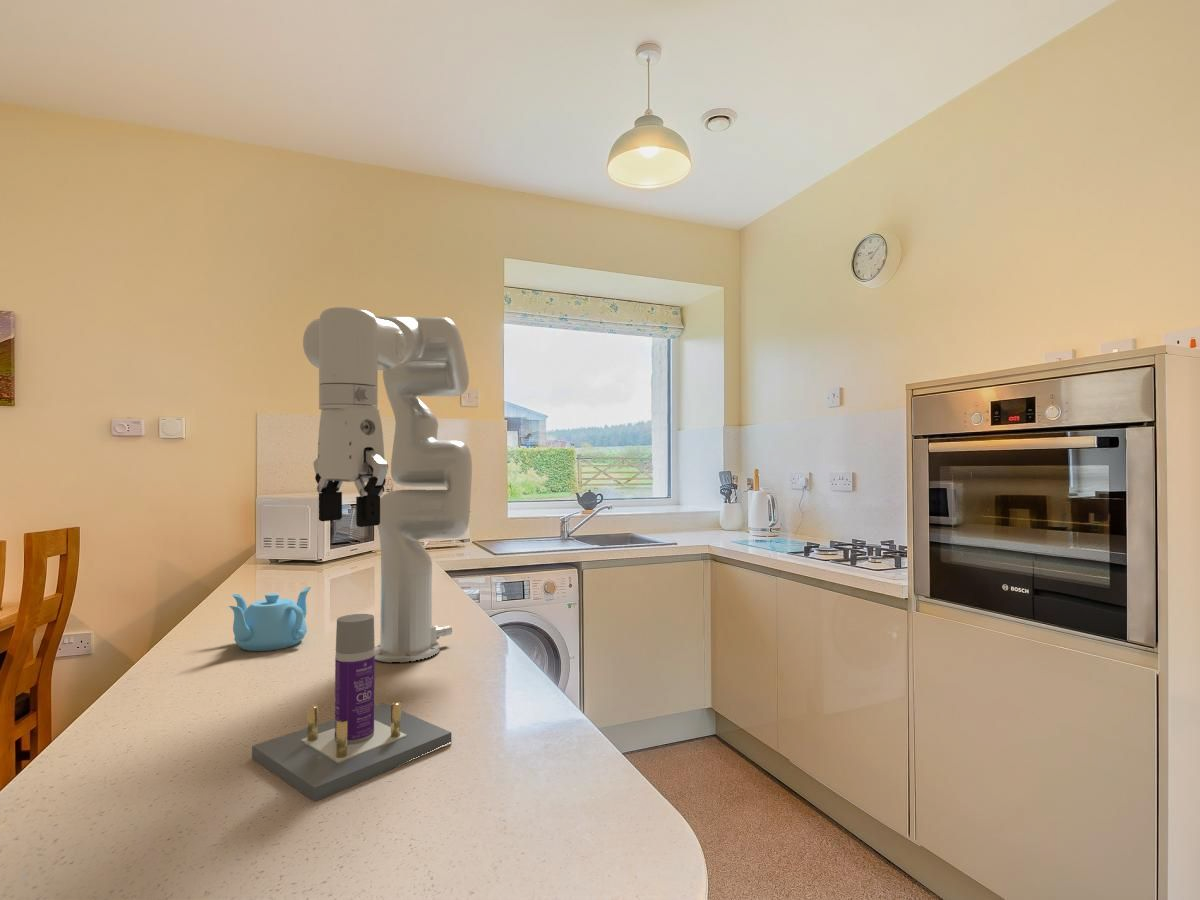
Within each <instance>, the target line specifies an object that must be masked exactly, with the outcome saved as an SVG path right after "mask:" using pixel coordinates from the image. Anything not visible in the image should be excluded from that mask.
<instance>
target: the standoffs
mask: <svg viewBox="0 0 1200 900" xmlns="http://www.w3.org/2000/svg"><path fill="white" fill-rule="evenodd" d="M390 706H391V737H399V736H400V727H401V711H402V709H401V707H402V703H401V702H400V701H395V702H392V703H390ZM318 724H319V705H317V704H311V705H309V706H308V707H307V725H306V726H307V727H306V728H307V740H308V741H314V740H317V739H318ZM347 724H348V721H347V720H339V721H337V732H336V757H337V758H343V757H346V756H347Z"/></svg>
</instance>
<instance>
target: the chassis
mask: <svg viewBox="0 0 1200 900" xmlns="http://www.w3.org/2000/svg"><path fill="white" fill-rule="evenodd" d="M449 742H451V743H452V731H450V730H447V729H445V728H442V727H440V726H438V725H436V724H433V723H430V722H428V721H426V720H424V719H422V718H419V717H417V716H414V715H412V714H410V713H407V712H406V711H403V710H401V727H400V736H399V737H391V705H390V704H387V703H385V702H382V703H379V704H376V705H374V735H373V737H372V738H370V739H369V740H366V741H364V742H361V743H357V744H347V756H346V757H343V758H337V757H336V741H335V718H333V719H329V720H328V721H327V720H326V721H323V722H320V723H318V739H317V740H314V741H308V740H307V727H305V728H302V729H300V730H296V731H294V732H290V733H287V734H283V735H279V736H278V737H274V738H271V739H268V740H266V741H263V742H259V743H256V744H254V745H252V746H251V749H252V750H251V759H253V760H254V761H255V762H257V763H258V764H260V765H261V766H263V767H264V768H265V769H267V770H268V771H270V772H271V773H272V774H274V775H275V776H277V777H278V778H280V780H281V779H282V780H283V781H284V782H286V783H287V784H288V785H290V786H291V787H293V788H294V789H296V790H297V791H298V792H300V793H301V794H303V795H304V796H306V797H307V798H308V799H310V800H311V801H312V802H314V803H315V802H317V801H319V800H322V799H325V798H327V797H330V796H332V795H335V794H336V793H338V792H341V791H343V790H346V789H348V788H350V787H354V786H355V785H358V784H360V783H362V782H365V781H368V780H369V778H370V779H372V778H374V777H376V775H377V776H379V775H382V774H383V773H382V772H384V771H386V772H388V771H387V770H389V769H391V770H392V768H393V769H395V768H394V767H396V766H398V767H400V766H402V765H401V764H403V763H405V762H407V761H409V760H411V759H413V758H416V757H418V756H421V755H422V754H425V753H427V752H430V751H432V750H434V749H436V748H438V747H440V746H442V745H445V744H447V743H449ZM405 764H406V763H405ZM399 765H400V766H399ZM403 765H404V764H403ZM396 768H397V767H396ZM389 771H390V770H389ZM381 773H382V774H381ZM384 773H385V772H384Z"/></svg>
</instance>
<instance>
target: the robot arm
mask: <svg viewBox="0 0 1200 900" xmlns="http://www.w3.org/2000/svg"><path fill="white" fill-rule="evenodd" d="M302 341H303V342H302V348H303V352H304V354H305V357H306V358H307V360H308V361H309V362H310V363H311V365H313V366H314V367H315V368H316V369H318V410H320V416H319V417H320V418H319V426H318V437H317V438H318V440H317V441H318V443H317V458H315V460H314V461H313V464H312V465H313V469H314V473H315V478H314V479H315V482H316V483H317V487H316V492H317V493H318V520H319V521H320V522H329V521H340V520H342V517H343V491H339V490H340V489H341V487H342V484H343V483H344V482H345V483H346V482H347V483H348V482H349V483H350V482H351V483H352V482H353V484H354V486H355V488H356V489H357V492H358V494H359V496H356V497H355V500H356V502H355V503H356V504H355V510H356V511H355V513H356V514H355V516H356V517H355V520H356V523H355V524H356V526H357V527H358V528H365V527H373V526H374V527H375V526H377V528H378V529H377V530H378V536H379V545H380V632H379V633H380V642H379V644H377V645H375V661H378V662H383V663H392V662H400V663H409V661H411V662H416V660H418V661H421V660H420V659H422V660H425V659H424V658H426V659H428V657H429V658H431V656H432V657H433V655H434V656H436V655H437V654H438V653H439V652H440V645H441V644H440V642H437V640H439V639H440V637H447V636H450V635H452V634H453V633H452V632H453V628H452V625H444V626H443V625H442V626H441V627H439V625H433V620H432V619H433V616H432V615H433V561H432V558H431V555H430V553H429V552H428V551H427V549H426V548H425V546H424V545H423V544H422V543H421V542H420V540H426V539H427V540H429V539H430V540H432V539H433V540H436V539H437V540H441V539H443V540H445V539H457V538H461V537H462V536H464V535H465V534H466V532H467V531H468V528H469V524H470V514H471V513H470V512H471V498H472V497H471V496H472V494H471V493H472V477H473V476H472V475H473V459H472V453H471V451H470V448H469V447H468V445H467V444H466V443H464V441H463V442H462V441H460V440H450V439H449V440H448V439H446V440H444V439H442V440H441V439H438V429H439V421H438V419H437V417H436V416H435V413H433V412H432V410H431V409H430V408H429V407H428V406H427V405H426V404H425V403H424V402H423V401H422V400H421V399H420V398H419V397H460V396H462V395H463V394H464V393H466V391H467V390H468V386H469V382H470V381H469V380H470V377H469V374H470V373H469V367H468V362H467V357H466V354H465V353H466V352H465V348H464V344H463V339H462V336H461V333H460V330H459V328H458V326H457V325H456V323H455V322H454V321H453V320H452V319H450V318H448V317H438V316H437V317H436V316H400V315H399V316H392V315H386V316H385V315H383V316H375V315H374V314H373V313H372V312H370V311H368V310H364V309H361V308H355V307H345V306H339V307H338V306H337V307H330V308H327V309H324V310H323V311H322V312H321V314H320V315H319V318H316V319H314V320H312V321H311V322H310V323H309V324H308V325H307V326H306V328H305V330H304V333H303V337H302ZM378 371H382V378H383V380H382V381H383V385H384V389H385V392H386V395H387V398H388V401H389V403H390V406H391V410H392V412H393V415H394V422H395V424H394V425H395V426H394V433H393V434H394V436H393V441H392V442H393V443H392V451H391V452H392V453H391V459H390V475H391V478H392V480H393V481H394V483H396V485H397V484H398V485H399V486H403V487H409V488H410V487H411V488H413V487H414V488H431V487H432V488H446V489H398V490H392V491H389V492H386V493H385V494H384V493H383V492H384V491H383V488H384V486H385V484H386V481H387V480H386V477H387V473H388V470H389V464H388V462H387V461H386V460H385V444H384V433H383V426H382V418H381V413H380V410H379V409H378ZM365 483H366V484H365ZM435 654H436V655H435Z"/></svg>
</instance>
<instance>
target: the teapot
mask: <svg viewBox="0 0 1200 900" xmlns="http://www.w3.org/2000/svg"><path fill="white" fill-rule="evenodd" d="M311 588H312V587H311V586H308V587H305V588H304V589H302V590H301V591H300V593H299V595H298V598H297V600H296V602H297V603H296V602H295V601H294V600H293V599H291V598H279V597H280V593H266V594H265V595H264V598H265V599H260V600H257V601H254V602H252V603H250V604H249V605H248V606H247V602H246V600H245V598H244V596H242V595H241V594H237V593H232V594H231V596H232V597H233V598H234V600H235V601H236V606H235V605H228V608H230V609H231V610H232V611H233V615H234V616H233V626H232V630H233V631H232V632H233V634H234V635H233V636H234V639H233V640H234V642H235V643H236V645H237V646H239V648H241V649H242V650H243V651H248V652H266V651H267V652H269V651H277V650H282V649H286V648H290V647H293V646H295V645H297V644H299V643H300V642H301V641H302V640H304V638H305V636H306V634H307V632H308V628H307V621H306V616H307V594H308V593H309V591H310V590H311Z"/></svg>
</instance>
